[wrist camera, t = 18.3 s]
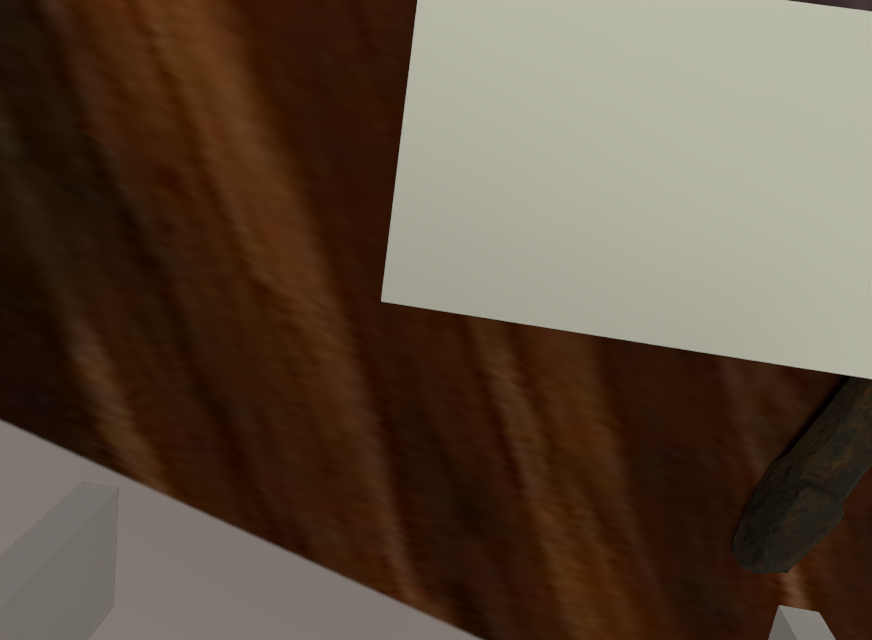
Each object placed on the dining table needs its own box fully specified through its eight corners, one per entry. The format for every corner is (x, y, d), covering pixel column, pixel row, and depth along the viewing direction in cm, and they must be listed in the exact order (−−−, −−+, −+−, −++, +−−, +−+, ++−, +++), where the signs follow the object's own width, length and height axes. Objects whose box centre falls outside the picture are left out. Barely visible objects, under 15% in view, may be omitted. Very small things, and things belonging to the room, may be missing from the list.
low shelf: (421, 244, 42) (380, 301, 30) (453, -2, 39) (423, -48, 27) (894, 317, 41) (1050, 407, 29) (969, 67, 37) (1180, 51, 25)
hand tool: (936, 235, 40) (987, 252, 35) (1001, 281, 40) (1060, 303, 36) (690, 516, 45) (707, 561, 41) (748, 555, 45) (772, 604, 41)
